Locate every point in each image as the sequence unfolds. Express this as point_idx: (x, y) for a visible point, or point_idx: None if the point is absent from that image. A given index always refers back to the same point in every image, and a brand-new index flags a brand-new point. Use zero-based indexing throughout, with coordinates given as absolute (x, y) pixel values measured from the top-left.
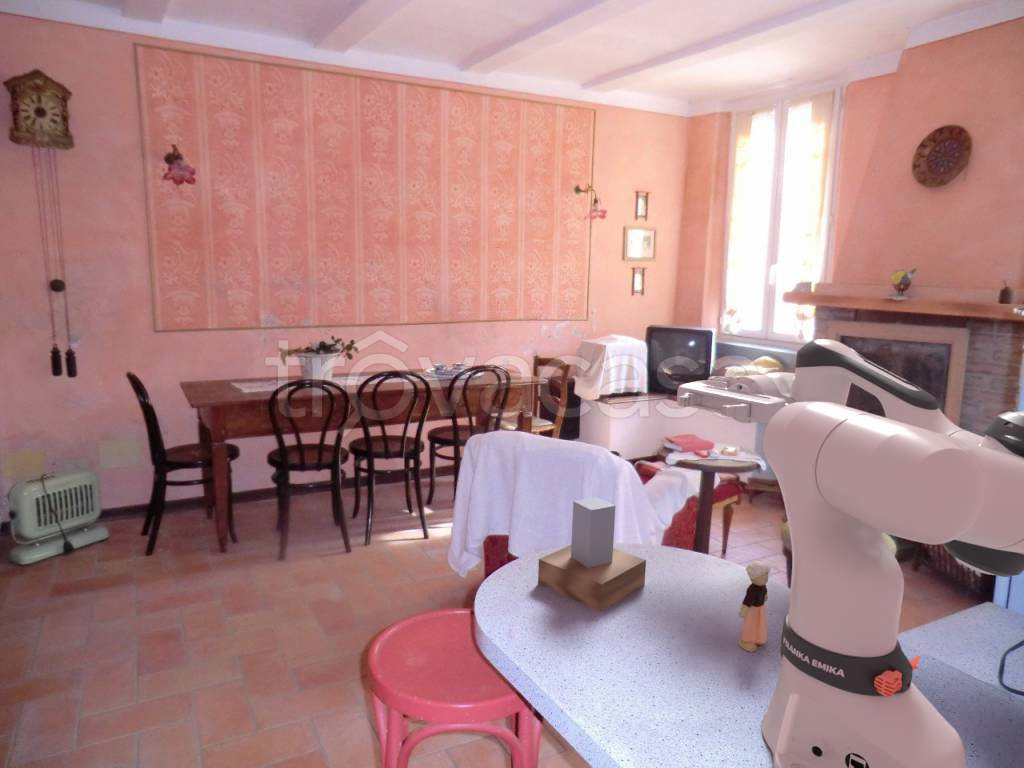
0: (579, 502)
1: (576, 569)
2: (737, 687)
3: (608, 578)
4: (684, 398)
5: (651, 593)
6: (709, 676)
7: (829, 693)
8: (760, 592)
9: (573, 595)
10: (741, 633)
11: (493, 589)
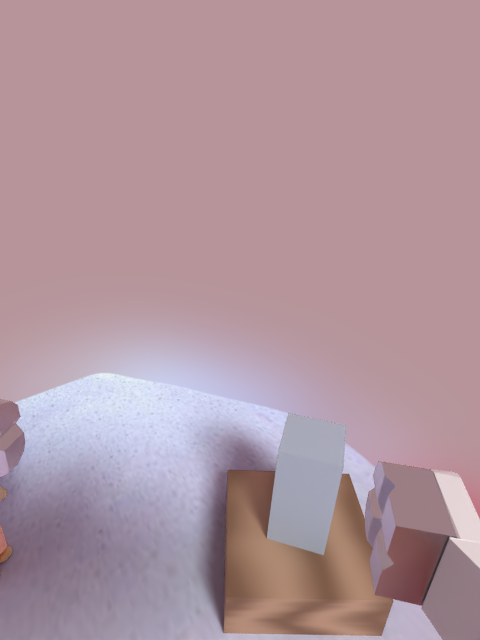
0: (333, 426)
1: None
2: (15, 469)
3: (232, 488)
4: (383, 463)
5: (194, 608)
6: (50, 467)
7: None
8: None
9: None
10: (5, 539)
11: (358, 461)
